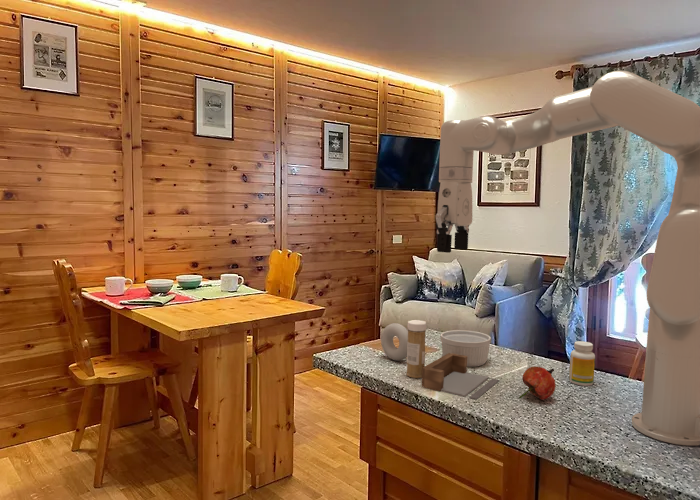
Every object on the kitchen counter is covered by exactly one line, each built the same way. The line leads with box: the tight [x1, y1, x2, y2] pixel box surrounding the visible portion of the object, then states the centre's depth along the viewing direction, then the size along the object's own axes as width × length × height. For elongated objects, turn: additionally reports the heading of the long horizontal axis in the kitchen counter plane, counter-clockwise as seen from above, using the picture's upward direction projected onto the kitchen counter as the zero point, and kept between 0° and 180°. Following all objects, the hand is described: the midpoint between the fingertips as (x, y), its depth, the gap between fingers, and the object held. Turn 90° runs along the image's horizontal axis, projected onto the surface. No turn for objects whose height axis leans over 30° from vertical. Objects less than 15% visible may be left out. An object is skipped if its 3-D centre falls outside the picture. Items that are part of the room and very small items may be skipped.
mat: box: [440, 371, 490, 398], centre depth 122 cm, size 8×15×1 cm, turn 146°
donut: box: [380, 322, 408, 362], centre depth 138 cm, size 10×4×10 cm, turn 43°
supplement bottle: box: [568, 340, 596, 387], centre depth 124 cm, size 5×5×10 cm
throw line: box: [469, 378, 500, 400], centre depth 118 cm, size 2×15×1 cm, turn 146°
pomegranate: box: [518, 365, 556, 401], centre depth 113 cm, size 7×7×10 cm
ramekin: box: [440, 329, 492, 368], centre depth 139 cm, size 13×13×7 cm
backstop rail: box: [421, 353, 468, 392], centre depth 124 cm, size 5×16×4 cm, turn 146°
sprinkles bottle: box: [405, 319, 427, 379], centre depth 126 cm, size 5×5×13 cm
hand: (452, 250), depth 120 cm, fingers open, 9 cm apart
